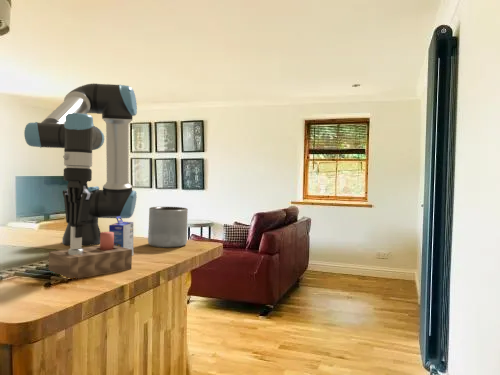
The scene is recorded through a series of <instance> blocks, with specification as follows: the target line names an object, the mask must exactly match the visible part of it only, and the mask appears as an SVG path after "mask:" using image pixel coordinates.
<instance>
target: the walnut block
mask: <svg viewBox="0 0 500 375" xmlns="http://www.w3.org/2000/svg"><path fill="white" fill-rule="evenodd" d="M82 248H83V254H77V255H70V254H68V250H69V249H70V248H68V249H62V250H61V249H60V250H53V251H48V270H50V271H53V272H55V273H57V274H61V275H63V276H66V277H68V278H74V277H75V278H76V279H75V280H77V278H78V279H82V278H87V277H93V276H100V275H103V274H110V273H116V272H120V271H121V272H122V271H126V270H132V268H133V267H132V262H133V258H132V257H133V256H132V249H128V248H123V247H119V246H115V245H114V250H107V251H103V250H100V245H95V246H94V245H92V246H86V247H85V246H84V247H82Z"/></svg>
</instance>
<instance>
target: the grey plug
mask: <svg viewBox="0 0 500 375" xmlns="http://www.w3.org/2000/svg"><path fill="white" fill-rule="evenodd" d="M83 248H84V247H82V248H80V249H70V248H68V249H69V250H68V249H67V250H68V254H70V255H77V254H83Z"/></svg>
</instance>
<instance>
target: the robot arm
mask: <svg viewBox="0 0 500 375" xmlns="http://www.w3.org/2000/svg"><path fill="white" fill-rule="evenodd" d="M137 105H138V104H137V98H136V94H135V91H134V89H133V88H132V87H131V86H129V85H124V84H111V83H110V84H109V83H107V84H105V83H94V82H93V83H87V84H84V85H83V84H82V85H81V86H78V87H76V88H74V89H72V90H71V91H70V92H68V93H67V94H66V95H65V97H64V100H63V101H62V103H61V104H60V105H58V106H57V107H56V108H55V109H54V110H53V111H52V112H51V113H50V114H49V115H48V116H46V118H45V119H43V120H42V121H41V122H37V121H35V122H28V123H26V125H25V127H24V130H23V131H24V132H23V133H24V134H23V135H24V139H25V143H26V144H27V145H28V146H29V147H36V148H40V149H42V148H49V149H52V148H56V149H57V148H58V149H63V156H62V157H63V165H64V166H65V167H64V168H63V181H65V182H67V187H66V188H67V189H66V190H62V196H63V201H64V212H65V223H66V224H67V225H66V228H65V230H64V233H63V236H62V240H61V241H62V242H61V243H62V244H63V245H66V246H70V248H69V249H80V248H83V246H84V247H85V246H86V247H88V246H94V245H95V246H97V245H100V233H101V232H102V231H101V230H100V226H99V219H116V217H118V216H120V217H121V219H130V218H131V217H133V215H134V212H135V208H136V205H137V198H138V197H137V191H136V190H134V189H133V185H132V184H131V183H130V181H129V170H130V169H129V164H130V162H129V161H130V160H129V148H130V147H129V138H130V137H129V134H130V133H129V127H130V123H131V122H132V121H133V117H135V116H136V115H137V113H138V111H137V110H138V106H137ZM91 114H98V115H99V114H100V115H101V119H102V121H104V122H105V124H106V125H105V128H106V129H105V132H106V133H105V135H104V133H103V131H102V130H101V129H100V128H98V127H97V126H95V125H94V118H93V116H92V115H91ZM105 137H106V140H105ZM105 141H106V142H105ZM104 143H106V150H105V151H106V153H105V154H106V157H105V158H106V182H105V184H104V185H102V189H100V187H99V186H95V185H94V186H88V182H91V181H92V179H93V178H92V175H93V170H92V169H91V168H92V167H93V151H95V150H99V149H101V147H102V146H104ZM121 219H120V218H118V220H121Z"/></svg>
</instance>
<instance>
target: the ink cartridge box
mask: <svg viewBox="0 0 500 375" xmlns="http://www.w3.org/2000/svg"><path fill="white" fill-rule="evenodd" d="M119 218H120V219H119ZM115 220H116V221H117V222H115V223H111V224H109V225H108V228H109V229H108V232H114V245H115V246H119V247H123V248H128V249H132V257H133V256H134V221H123V218H121V217H120V216H118V217H116V218H115Z"/></svg>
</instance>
